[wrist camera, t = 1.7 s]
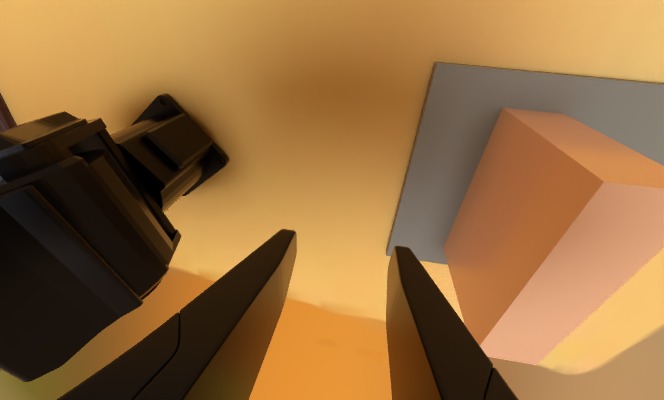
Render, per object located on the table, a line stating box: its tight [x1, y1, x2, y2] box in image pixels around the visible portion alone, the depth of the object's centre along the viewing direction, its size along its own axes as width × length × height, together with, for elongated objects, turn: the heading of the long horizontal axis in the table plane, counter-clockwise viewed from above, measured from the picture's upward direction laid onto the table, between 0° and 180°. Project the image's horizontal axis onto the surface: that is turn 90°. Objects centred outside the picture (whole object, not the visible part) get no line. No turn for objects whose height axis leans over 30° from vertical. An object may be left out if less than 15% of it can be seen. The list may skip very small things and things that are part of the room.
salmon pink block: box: [443, 107, 664, 365], centre depth 16 cm, size 4×12×9 cm, turn 176°
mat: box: [386, 62, 664, 265], centre depth 20 cm, size 19×16×1 cm
